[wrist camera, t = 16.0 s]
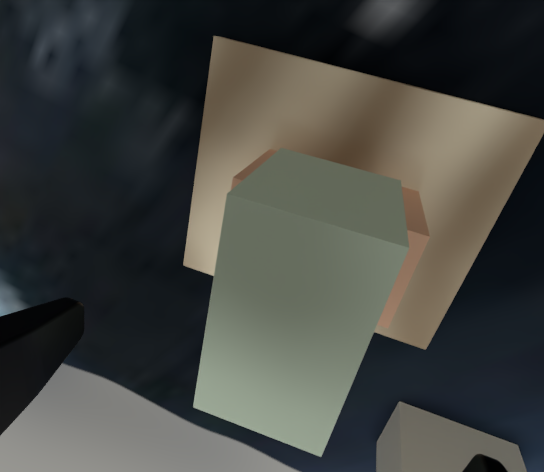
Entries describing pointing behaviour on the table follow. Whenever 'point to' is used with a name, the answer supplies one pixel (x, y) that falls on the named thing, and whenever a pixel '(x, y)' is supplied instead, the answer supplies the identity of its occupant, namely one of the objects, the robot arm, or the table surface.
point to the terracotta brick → (416, 238)
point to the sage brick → (298, 294)
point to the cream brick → (437, 444)
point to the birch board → (363, 157)
